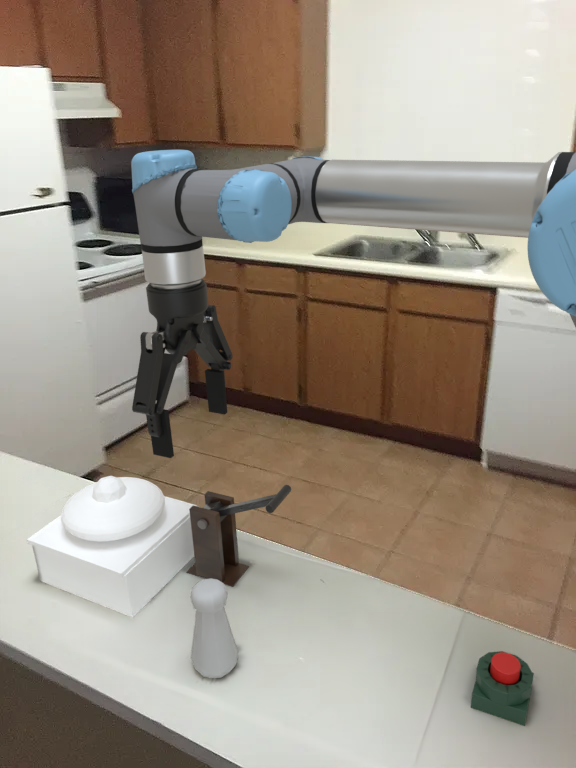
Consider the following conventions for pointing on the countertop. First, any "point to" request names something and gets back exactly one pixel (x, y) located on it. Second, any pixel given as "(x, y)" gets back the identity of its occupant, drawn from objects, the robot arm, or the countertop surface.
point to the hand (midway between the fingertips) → (192, 432)
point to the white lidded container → (115, 543)
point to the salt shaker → (212, 630)
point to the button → (505, 668)
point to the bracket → (215, 542)
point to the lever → (251, 504)
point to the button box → (502, 692)
